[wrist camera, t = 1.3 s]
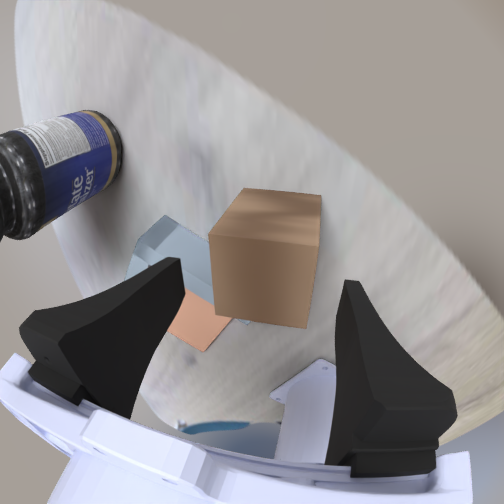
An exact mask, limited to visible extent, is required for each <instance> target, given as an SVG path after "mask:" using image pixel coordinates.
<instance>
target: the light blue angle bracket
mask: <svg viewBox="0 0 504 504" xmlns="http://www.w3.org/2000/svg"><path fill="white" fill-rule="evenodd" d="M166 257H175V258H180V260H181V266H182V273H183V280H184V286H185V292H186V294H185V297H184V299H183V302H182V304H181V307H180V309H179V311H178V313H177V315H176V316H175V318H174V320H173V322H172V323H171V325H170V327H169V328H168V330H167V331H168V332H170V333H171V334H173V335H175V336H176V337H178V338H180V339H181V340H183V341H185V342H186V343H188V344H190V345H191V346H193V347H195V348H196V349H198V350H200V351H202V352H204V351H205V350H206V348H207V347H208V346H209V345H210V344H211V343H212V341H213V340H214V339H215V338H216V337H217V336H218V334H219V333H220V332H221V331H222V330H223V328H224V327H225V326H226V325H227V324H228V322H229V321H230V320H231V319H232V318H230V317H224V316H219V315H215V307H214V297H213V286H212V274H211V262H210V250H209V243H208V242H207V241H205V240H204V239H202V238H200V237H199V236H197V235H196V234H194V233H192V232H191V231H189V230H188V229H186V228H185V227H183V226H182V225H180V224H178V223H177V222H175V221H174V220H172V219H171V218H169V217H167V216H166V215H164V216H163V217H162V218H161V219H160V220H159V221H158V222H156V223H155V224H154V225H153V226H152V227H151V228H150V229H149V230H148V231H147V232H145V233H144V234H143V235H142V236H141V237H140V238H139V239H138V241H137V244H136V246H135V249H134V252H133V255H132V258H131V261H130V264H129V267H128V270H127V273H126V276H125V279H124V281H125V280H127V279H129V278H131V277H133V276H135V275H136V274H138V273H140V272H141V271H143V270H145V269H147V268H148V267H150V266H152V265H153V264H155V263H157V262H159V261H161V260H162V259H164V258H166ZM237 320H239V321H241V322H243V323H244V324H246V325H248V324H249V323H250V322H251V321H248V320H242V319H237Z"/></svg>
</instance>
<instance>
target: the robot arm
mask: <svg viewBox="0 0 504 504" xmlns="http://www.w3.org/2000/svg"><path fill="white" fill-rule="evenodd" d="M185 294H186V292H185V286H184V280H183V273H182V266H181V260H180V258H175V257H166V258H164V259H162V260H161V261H159V262H157V263H155V264H153V265H152V266H150V267H148V268H147V269H145V270H143V271H141V272H140V273H138V274H136V275H135V276H133V277H131V278H129V279H127V280H125V281H124V282H122V283H120V284H118V285H116V286H114V287H112V288H110V289H108V290H106V291H104V292H101V293H99V294H97V295H94V296H91V297H88V298H86V299H83V300H80V301H77V302H74V303H70V304H66V305H62V306H58V307H54V308H48V309H42V310H35V311H34V312H33V313H32V314H31V315H30V316H29V317H28V318H27V319H26V320H25V321H24V322H23V323H22V324H21V326H20V327H19V331H20V335H21V338H22V340H23V341H24V343H25V345H26V346H27V348H28V349H29V351H30V352H31V354H32V355H33V357H34V358H35V360H36V361H35V363H34V364H33V365H32V364H31V363H30V362H29V361H28V360H26V359H25V358H23V357H22V356H20V355H19V354H17V353H14V354H13V355H12V357H11V358H10V359H9V361H8V362H7V363H6V364H5V365H4V367H3V368H2V369H1V370H0V402H1V403H2V404H3V405H4V406H5V407H6V408H7V409H8V410H9V411H10V412H11V413H12V414H13V415H14V416H15V417H16V418H17V419H18V420H19V421H21V422H22V423H23V424H25V425H26V426H27V427H28V428H30V429H31V430H32V431H34V432H35V433H36V434H37V435H39V436H40V437H41V438H43V439H44V440H45V441H47V442H48V443H50V444H51V445H52V446H54V447H55V448H57V449H58V450H59V451H61V452H62V453H64V454H65V455H67V456H68V457H70V458H71V459H70V461H69V463H68V464H67V466H66V468H65V470H64V472H63V474H62V475H61V477H60V479H59V481H58V483H57V485H56V487H55V488H54V490H53V492H52V494H51V496H50V498H49V500H48V502H47V504H473V493H472V477H471V466H470V457H469V451H461V452H455V453H448V454H443V455H440V456H437V457H436V454H435V450H437V449H438V447H439V441H438V438H439V437H440V436H441V435H442V434H443V433H445V432H446V431H447V430H448V429H449V428H450V427H451V426H452V424H453V423H454V422H455V421H456V418H457V416H458V415H457V410H456V404H455V399H454V396H453V392H452V390H451V389H450V388H448V387H447V386H445V385H444V384H443V383H441V382H440V381H438V380H437V379H436V378H434V377H433V376H432V375H431V374H429V373H428V372H427V371H426V370H425V369H424V368H422V367H421V366H420V365H419V364H418V363H417V362H416V361H415V360H414V359H413V358H412V357H411V356H410V355H409V354H408V353H407V352H406V351H405V350H404V349H403V348H402V346H401V345H400V344H399V343H398V342H397V340H396V339H395V338H394V337H393V335H392V334H391V333H390V331H389V330H388V329H387V327H386V326H385V324H384V323H383V321H382V320H381V318H380V317H379V315H378V313H377V312H376V310H375V308H374V307H373V305H372V303H371V302H370V300H369V298H368V296H367V294H366V293H365V291H364V289H363V287H362V285H361V283H360V282H359V281H353V280H345V281H344V286H343V290H342V294H341V299H340V303H339V307H338V311H337V315H336V327H335V355H336V366H335V365H333V364H332V363H330V362H328V361H326V360H324V359H318V360H316V361H315V362H314V363H312V364H311V365H310V366H308V367H307V368H305V369H304V370H303V371H301V372H300V373H298V374H297V375H296V376H294V377H293V378H291V379H290V380H289V381H287V382H286V383H284V384H283V385H281V386H280V387H278V388H277V389H275V390H274V391H272V392H271V393H270V395H269V397H270V398H271V399H273V400H275V401H277V402H280V403H282V404H284V405H285V409H284V414H283V418H282V423H281V428H280V434H279V438H278V442H277V447H276V451H275V456H274V459H268V458H262V457H256V456H251V455H245V454H241V453H236V452H232V451H227V450H223V449H219V448H215V447H211V446H207V445H203V444H200V443H196V442H193V441H189V440H186V439H183V438H179V437H176V436H173V435H170V434H167V433H164V432H161V431H158V430H155V429H153V428H150V427H147V426H145V425H141V424H139V423H137V422H134V421H132V420H130V418H131V414H132V411H133V407H134V404H135V400H136V397H137V394H138V391H139V388H140V386H141V383H142V380H143V378H144V375H145V373H146V370H147V368H148V365H149V363H150V361H151V358H152V356H153V354H154V352H155V350H156V348H157V347H158V345H159V343H160V341H161V340H162V338H163V336H164V335H165V333H166V332H167V330H168V328H169V327H170V325H171V323H172V322H173V320H174V318H175V316H176V315H177V313H178V311H179V309H180V307H181V304H182V302H183V299H184V297H185Z"/></svg>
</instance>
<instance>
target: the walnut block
mask: <svg viewBox="0 0 504 504" xmlns="http://www.w3.org/2000/svg"><path fill="white" fill-rule="evenodd" d="M320 216H321V195H314V194H305V193H295V192H285V191H274V190H262V189H250V188H243V190H242V191H241V192H240V193H239V195H238V196H237V197H236V199H235V200H234V201H233V202H232V204H231V205H230V206H229V208H228V209H227V210H226V211H225V213H224V214H223V215H222V217H221V218H220V219H219V221H218V222H217V223H216V224H215V226H214V227H213V228H212V230H211V231H210V232H209V234H208V236H209V250H210V262H211V274H212V286H213V297H214V307H215V315H219V316H224V317H230V318H236V319H242V320H248V321H254V322H261V323H267V324H274V325H281V326H288V327H296V328H303V329H306V327H307V321H308V316H309V310H310V304H311V298H312V292H313V285H314V279H315V272H316V265H317V258H318V251H319V239H320Z"/></svg>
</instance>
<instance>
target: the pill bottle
mask: <svg viewBox="0 0 504 504" xmlns="http://www.w3.org/2000/svg"><path fill="white" fill-rule="evenodd" d="M120 165H121V142H120V137H119V135H118V132H117V130H116V128H115V127H114V125H113V124H112V123H111V122H110V120H109V119H108V118H107V117H106V116H104V115H103V114H101V113H99V112H97V111H92V110H83V111H79V112H75V113H71V114H66V115H62V116H58V117H54V118H51V119H47V120H43V121H40V122H37V123H33V124H30V125H27V126H24V127H21V128H18V129H15V130H12V131H8V132H6V133H3V134H1V135H0V241H1V240H2V238H3V235H5V236H7V237H9V238H12V239H15V240H22V239H26V238H29V237H31V236H32V235H34V234H35V233H36V232H38V231H39V230H40V229H42V228H43V227H44V226H46V225H48V224H49V223H51V222H52V221H54V220H55V219H57V218H58V217H60V216H61V215H63V214H64V213H66V212H68V211H69V210H71V209H72V208H74V207H76V206H77V205H79V204H80V203H82V202H84V201H85V200H87V199H89V198H90V197H92V196H94V195H95V194H97V193H99V192H100V191H102V190H104V189H105V188H107V187H108V186H109V185H111V183H112V182H113V181H114V179H115V178H116V176H117V174H118V172H119V169H120Z"/></svg>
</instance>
